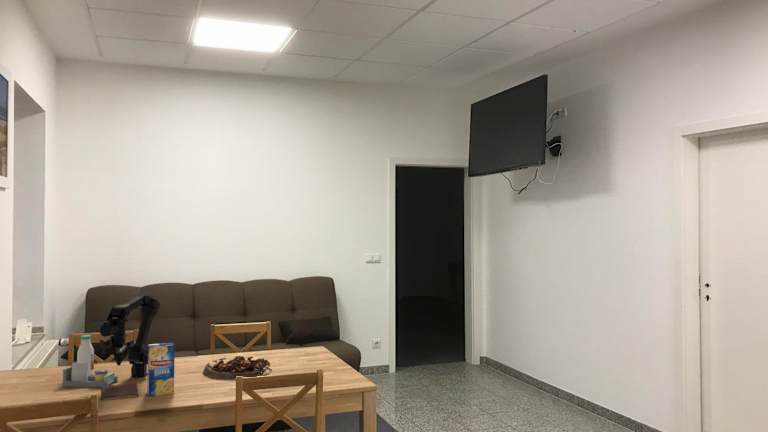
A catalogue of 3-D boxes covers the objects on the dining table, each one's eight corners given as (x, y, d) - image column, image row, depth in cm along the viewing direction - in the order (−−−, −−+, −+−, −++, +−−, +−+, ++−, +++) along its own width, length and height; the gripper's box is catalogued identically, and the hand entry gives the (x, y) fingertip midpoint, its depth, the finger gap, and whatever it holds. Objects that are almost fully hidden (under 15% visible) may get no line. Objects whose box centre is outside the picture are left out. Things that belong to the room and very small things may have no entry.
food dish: (256, 363, 336) (257, 349, 336) (280, 377, 308) (280, 362, 308) (193, 369, 317) (194, 354, 317) (213, 384, 289) (213, 368, 289)
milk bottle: (86, 377, 298) (87, 337, 298) (73, 376, 299) (73, 336, 299) (97, 373, 305) (97, 334, 305) (83, 372, 307) (84, 333, 307)
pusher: (114, 381, 289) (114, 372, 289) (106, 386, 281) (106, 376, 281) (112, 381, 289) (112, 372, 289) (104, 386, 281) (104, 376, 281)
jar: (110, 382, 288) (110, 369, 288) (103, 385, 283) (104, 372, 283) (98, 382, 289) (98, 369, 289) (92, 385, 283) (92, 372, 283)
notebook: (136, 386, 284) (136, 382, 284) (138, 397, 266) (138, 393, 266) (101, 390, 278) (101, 385, 278) (101, 401, 260) (101, 396, 260)
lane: (117, 381, 291) (117, 365, 291) (106, 387, 280) (107, 370, 280) (75, 380, 291) (75, 364, 291) (62, 386, 281) (63, 369, 281)
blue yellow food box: (147, 392, 272) (147, 344, 272) (172, 389, 277) (172, 342, 277) (148, 396, 266) (149, 347, 266) (174, 393, 271) (174, 345, 271)
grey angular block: (87, 384, 285) (87, 363, 286) (71, 385, 283) (71, 364, 283) (87, 382, 289) (88, 361, 289) (72, 383, 286) (72, 362, 287)
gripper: (112, 329, 295) (111, 360, 295) (92, 336, 277) (92, 369, 276) (134, 329, 295) (134, 360, 295) (116, 336, 276) (115, 370, 276)
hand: (118, 365), depth 285 cm, fingers closed
